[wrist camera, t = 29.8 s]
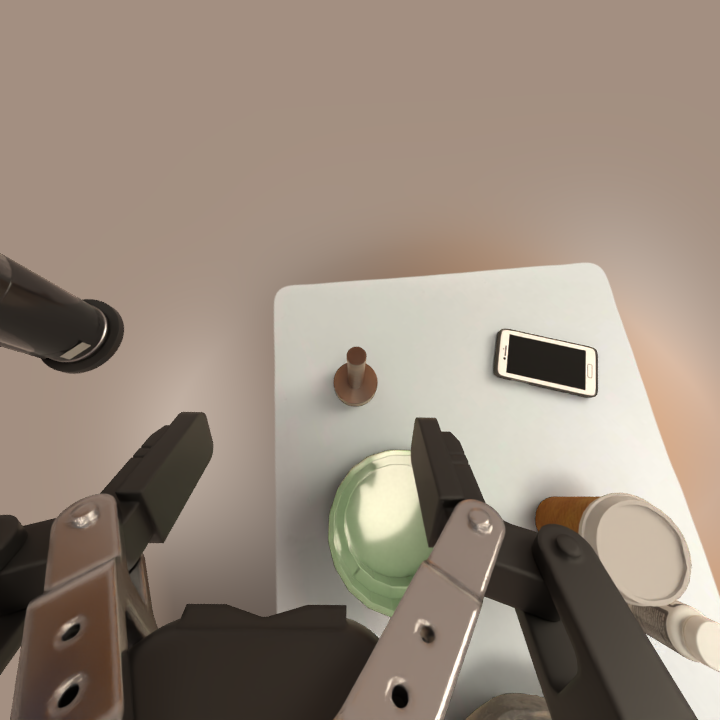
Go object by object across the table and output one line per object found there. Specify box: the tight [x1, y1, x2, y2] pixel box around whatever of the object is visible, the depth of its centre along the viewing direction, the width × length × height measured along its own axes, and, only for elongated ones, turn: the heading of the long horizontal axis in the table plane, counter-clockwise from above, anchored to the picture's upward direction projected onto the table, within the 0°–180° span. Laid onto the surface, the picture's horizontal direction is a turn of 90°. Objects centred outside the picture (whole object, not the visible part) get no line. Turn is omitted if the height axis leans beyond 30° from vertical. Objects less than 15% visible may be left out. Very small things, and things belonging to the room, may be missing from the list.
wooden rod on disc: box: [334, 347, 377, 406], centre depth 38 cm, size 6×6×14 cm
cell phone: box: [494, 329, 598, 398], centre depth 45 cm, size 8×15×1 cm, turn 77°
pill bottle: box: [626, 600, 720, 672], centre depth 33 cm, size 5×5×8 cm
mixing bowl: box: [328, 450, 433, 617], centre depth 36 cm, size 16×16×6 cm
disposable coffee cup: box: [535, 493, 692, 607], centre depth 34 cm, size 10×10×12 cm
